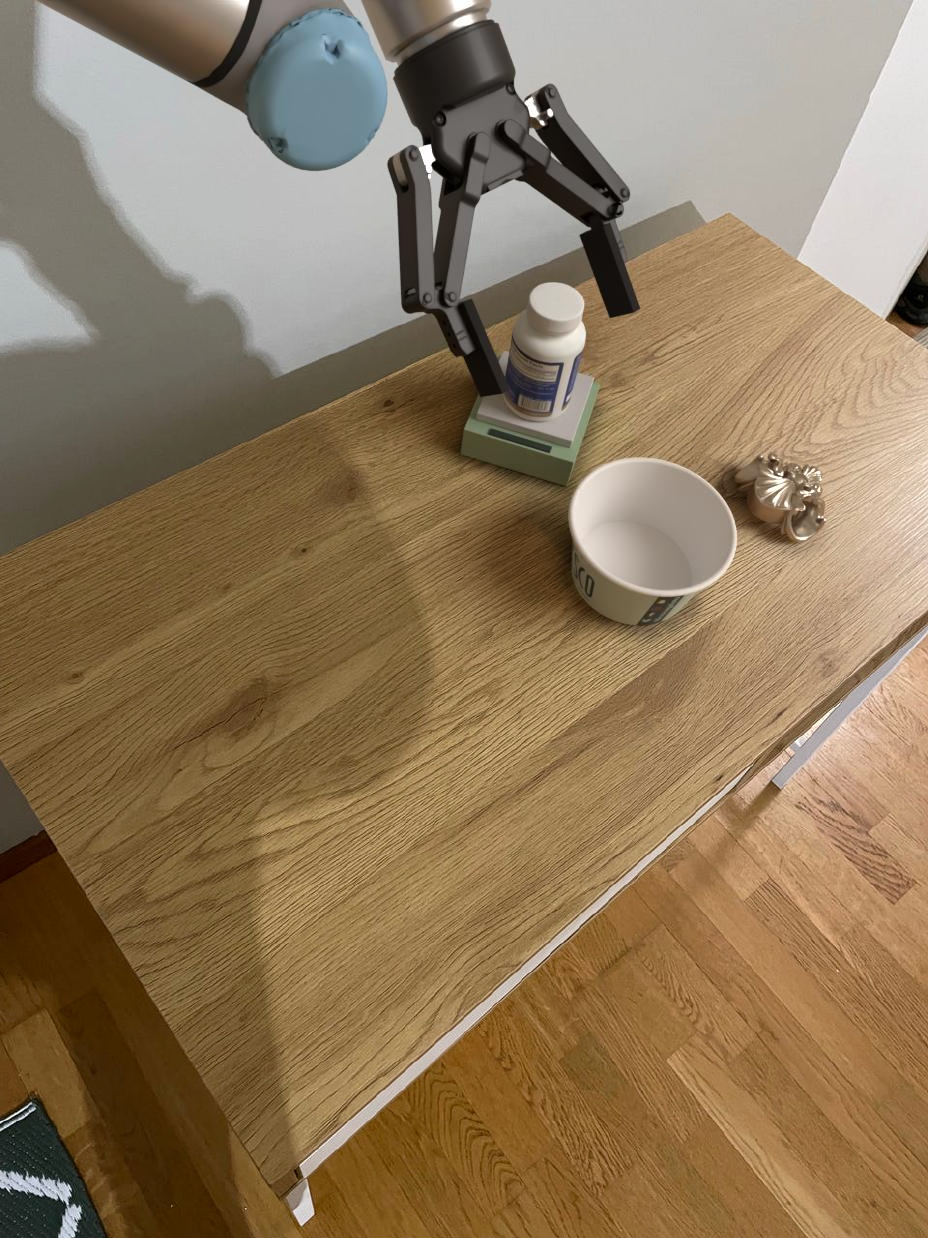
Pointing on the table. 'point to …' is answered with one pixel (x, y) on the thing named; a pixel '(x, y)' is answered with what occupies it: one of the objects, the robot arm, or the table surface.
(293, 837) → the table surface
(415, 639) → the table surface
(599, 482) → the food container
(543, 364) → the pill bottle
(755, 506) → the ornament
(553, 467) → the scale
